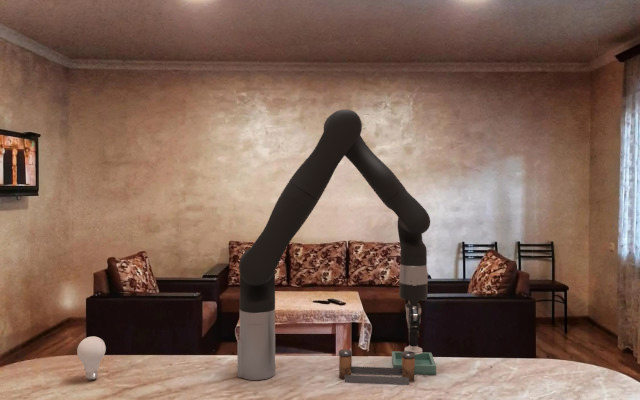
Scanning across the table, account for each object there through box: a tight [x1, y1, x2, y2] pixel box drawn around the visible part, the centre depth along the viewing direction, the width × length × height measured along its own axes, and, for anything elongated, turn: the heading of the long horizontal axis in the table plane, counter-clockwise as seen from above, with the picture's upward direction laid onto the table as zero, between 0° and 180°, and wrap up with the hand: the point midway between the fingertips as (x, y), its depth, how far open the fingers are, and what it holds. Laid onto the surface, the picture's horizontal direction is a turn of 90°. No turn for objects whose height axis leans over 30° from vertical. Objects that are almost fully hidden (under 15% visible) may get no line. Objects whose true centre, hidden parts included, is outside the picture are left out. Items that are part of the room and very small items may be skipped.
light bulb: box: [76, 335, 107, 381], centre depth 132 cm, size 7×7×11 cm
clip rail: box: [338, 348, 416, 386], centre depth 133 cm, size 19×7×7 cm, turn 85°
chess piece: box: [403, 326, 423, 355], centre depth 142 cm, size 5×5×10 cm
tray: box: [391, 351, 437, 376], centre depth 142 cm, size 11×11×2 cm
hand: (413, 344), depth 142 cm, fingers closed on chess piece
